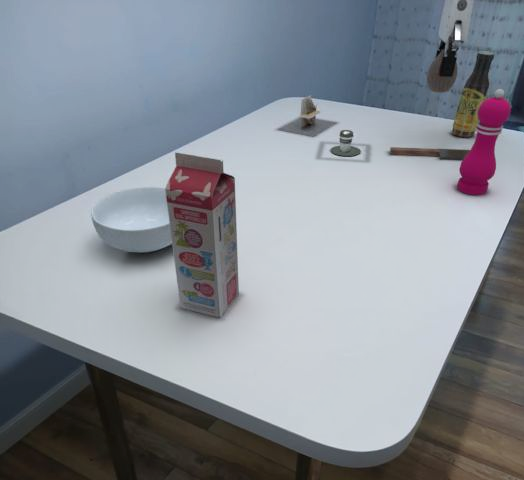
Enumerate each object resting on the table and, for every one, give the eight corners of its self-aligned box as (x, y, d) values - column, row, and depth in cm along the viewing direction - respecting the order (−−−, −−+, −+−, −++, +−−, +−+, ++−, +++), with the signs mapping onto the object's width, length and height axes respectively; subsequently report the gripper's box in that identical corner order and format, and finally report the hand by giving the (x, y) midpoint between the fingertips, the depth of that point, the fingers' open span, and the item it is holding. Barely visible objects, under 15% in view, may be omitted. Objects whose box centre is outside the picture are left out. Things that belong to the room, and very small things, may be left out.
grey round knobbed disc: (368, 145, 130) (371, 125, 127) (367, 161, 121) (370, 140, 118) (322, 142, 131) (324, 122, 128) (318, 158, 123) (320, 137, 119)
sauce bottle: (446, 134, 137) (466, 51, 124) (458, 129, 140) (478, 48, 127) (468, 140, 133) (490, 55, 120) (479, 135, 136) (502, 52, 123)
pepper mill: (491, 197, 105) (524, 94, 92) (456, 194, 106) (484, 92, 93) (486, 184, 111) (516, 85, 97) (452, 181, 111) (478, 83, 98)
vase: (427, 86, 126) (435, 46, 120) (455, 89, 123) (464, 48, 118) (421, 92, 121) (429, 51, 115) (450, 95, 119) (459, 53, 113)
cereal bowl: (93, 229, 93) (84, 194, 89) (178, 215, 98) (174, 180, 94) (106, 274, 82) (97, 235, 77) (203, 255, 86) (200, 218, 82)
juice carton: (201, 285, 79) (187, 144, 65) (238, 294, 77) (233, 151, 63) (180, 307, 75) (161, 161, 60) (220, 318, 73) (209, 169, 58)
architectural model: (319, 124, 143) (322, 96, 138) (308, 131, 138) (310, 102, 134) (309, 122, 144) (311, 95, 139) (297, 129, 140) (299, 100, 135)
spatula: (472, 152, 126) (473, 147, 125) (477, 160, 121) (478, 155, 121) (388, 149, 128) (389, 144, 127) (390, 157, 123) (391, 152, 122)
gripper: (489, -16, 101) (466, 81, 113) (471, -23, 114) (451, 65, 126) (452, -16, 102) (432, 80, 113) (438, -23, 115) (421, 64, 126)
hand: (442, 71), depth 119 cm, fingers closed on vase, 6 cm apart
